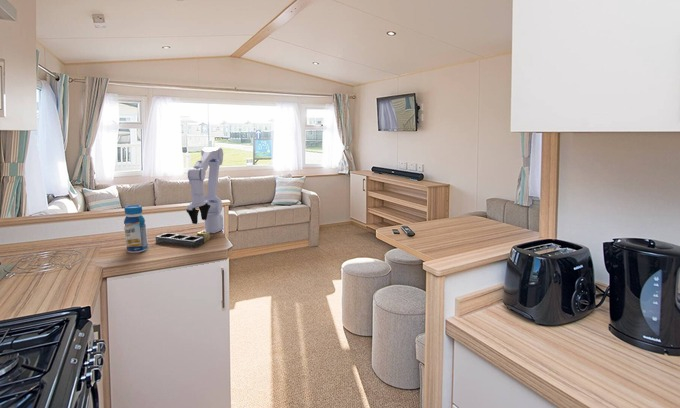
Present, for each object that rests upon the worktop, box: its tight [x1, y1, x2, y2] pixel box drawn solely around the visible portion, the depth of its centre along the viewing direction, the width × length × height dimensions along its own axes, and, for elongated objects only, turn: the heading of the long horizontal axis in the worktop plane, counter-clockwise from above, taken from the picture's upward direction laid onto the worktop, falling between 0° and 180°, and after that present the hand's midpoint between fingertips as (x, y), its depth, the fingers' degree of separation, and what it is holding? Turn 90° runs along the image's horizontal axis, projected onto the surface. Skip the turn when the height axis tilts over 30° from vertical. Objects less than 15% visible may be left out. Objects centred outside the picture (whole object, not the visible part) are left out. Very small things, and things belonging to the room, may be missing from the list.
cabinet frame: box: [155, 232, 205, 249], centre depth 183 cm, size 7×22×3 cm, turn 71°
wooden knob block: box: [196, 230, 211, 243], centre depth 188 cm, size 4×4×4 cm
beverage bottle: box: [123, 204, 148, 254], centre depth 170 cm, size 8×8×20 cm
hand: (199, 221), depth 186 cm, fingers open, 7 cm apart
